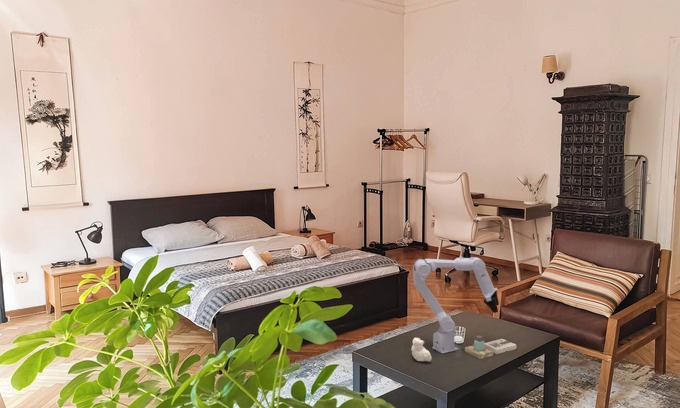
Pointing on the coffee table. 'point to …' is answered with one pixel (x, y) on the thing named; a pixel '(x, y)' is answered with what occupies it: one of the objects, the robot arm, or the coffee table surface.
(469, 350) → the holster
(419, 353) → the white animal figurine
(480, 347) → the plug
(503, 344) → the port housing
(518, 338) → the coffee table surface
